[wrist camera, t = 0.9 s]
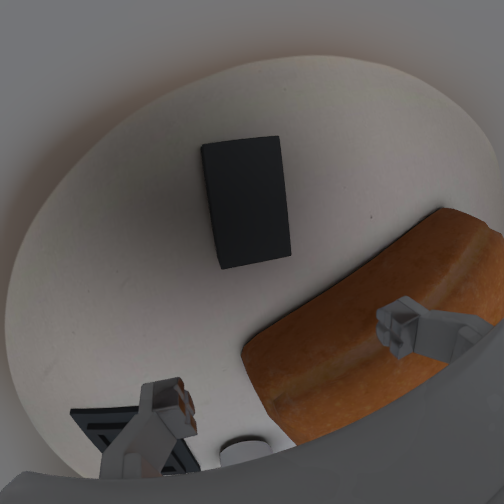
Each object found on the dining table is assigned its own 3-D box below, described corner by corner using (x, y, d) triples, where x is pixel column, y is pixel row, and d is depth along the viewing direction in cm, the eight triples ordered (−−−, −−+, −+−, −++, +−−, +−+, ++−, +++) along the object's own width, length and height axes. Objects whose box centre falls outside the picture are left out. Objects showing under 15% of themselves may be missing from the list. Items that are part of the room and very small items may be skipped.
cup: (244, 427, 33) (270, 511, 20) (281, 441, 37) (311, 512, 23) (205, 452, 34) (220, 529, 21) (243, 464, 37) (264, 531, 24)
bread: (226, 344, 29) (263, 471, 14) (444, 196, 30) (542, 224, 15) (280, 406, 34) (322, 500, 19) (456, 276, 35) (530, 318, 20)
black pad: (280, 246, 27) (291, 256, 24) (217, 258, 26) (221, 269, 23) (268, 138, 23) (279, 135, 21) (200, 147, 22) (202, 144, 19)
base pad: (200, 466, 35) (201, 477, 33) (124, 471, 33) (123, 481, 31) (163, 403, 29) (163, 416, 27) (70, 408, 27) (67, 420, 25)
